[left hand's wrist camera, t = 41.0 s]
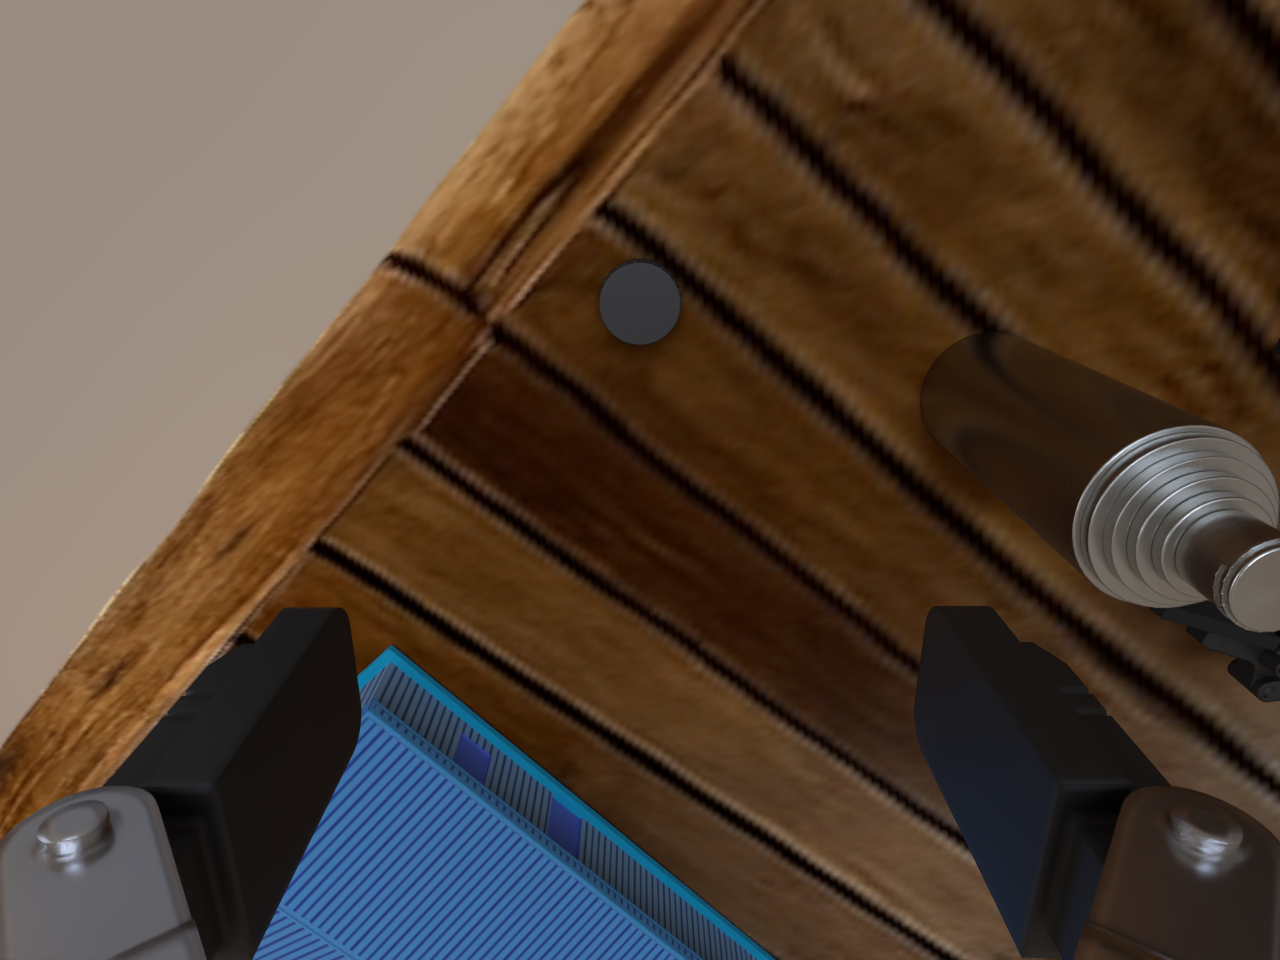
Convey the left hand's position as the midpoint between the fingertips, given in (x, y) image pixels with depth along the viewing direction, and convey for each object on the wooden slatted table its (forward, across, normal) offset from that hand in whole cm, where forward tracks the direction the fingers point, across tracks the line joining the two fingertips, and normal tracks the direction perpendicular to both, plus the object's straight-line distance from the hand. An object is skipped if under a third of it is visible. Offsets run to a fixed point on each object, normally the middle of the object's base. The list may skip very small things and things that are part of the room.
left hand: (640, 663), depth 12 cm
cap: (+33, 0, 0) cm, 33 cm away
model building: (+34, -10, -43) cm, 56 cm away
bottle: (+34, +19, -5) cm, 40 cm away
